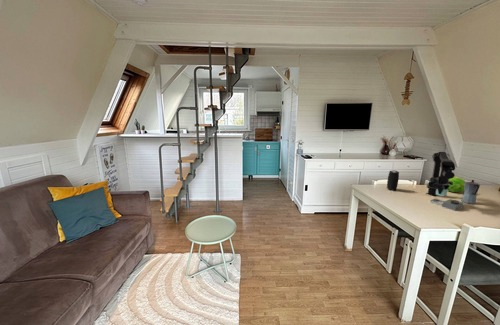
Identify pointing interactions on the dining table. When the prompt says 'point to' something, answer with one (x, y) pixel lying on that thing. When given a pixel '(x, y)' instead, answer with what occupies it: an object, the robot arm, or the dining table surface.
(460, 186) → the lettuce
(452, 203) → the square frame
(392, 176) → the portable speaker
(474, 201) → the moka pot
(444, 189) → the mint block with knob
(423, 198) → the dining table surface
